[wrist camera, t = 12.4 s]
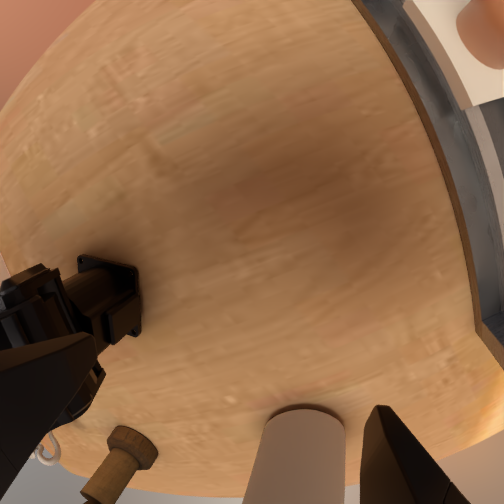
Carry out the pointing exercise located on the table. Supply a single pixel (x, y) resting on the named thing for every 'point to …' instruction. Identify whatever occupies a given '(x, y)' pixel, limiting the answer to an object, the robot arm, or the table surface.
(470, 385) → the table surface
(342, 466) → the can
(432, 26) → the carriage
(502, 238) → the rail
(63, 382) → the robot arm
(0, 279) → the milk
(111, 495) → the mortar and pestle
